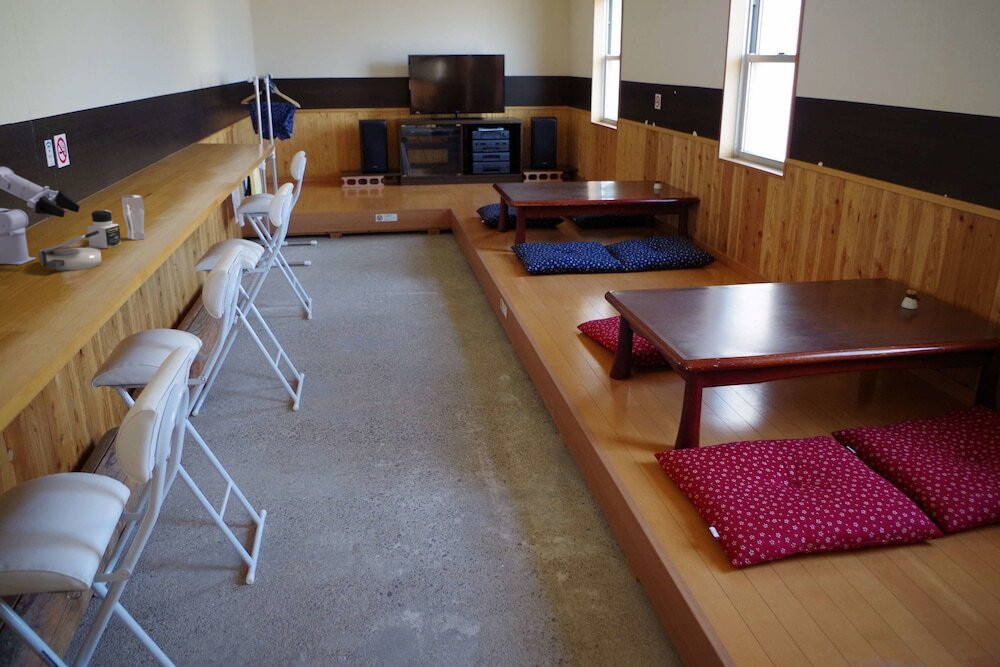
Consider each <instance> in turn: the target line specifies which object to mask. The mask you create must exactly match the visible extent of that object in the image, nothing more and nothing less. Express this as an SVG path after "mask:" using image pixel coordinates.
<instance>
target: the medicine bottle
mask: <svg viewBox="0 0 1000 667" xmlns="http://www.w3.org/2000/svg"><path fill="white" fill-rule="evenodd" d="M91 218H92V219H91V220H92V224H91V225H88V226H87V227H86V229H87V234H88V233H91V232H95V231H97V230H98V231H99V234H96V235H94V236H92V237H89V238H88V243H89V245H88V246H90V245H91V246H99V248H100V249H106V248H108V249H112V248H114V246H115V247H117V246H120V245H122V239H121V230H120V225H119V224H118V223H113V215H112V211H110V210H107V209H99V210H94V211H92V212H91Z"/></svg>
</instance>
